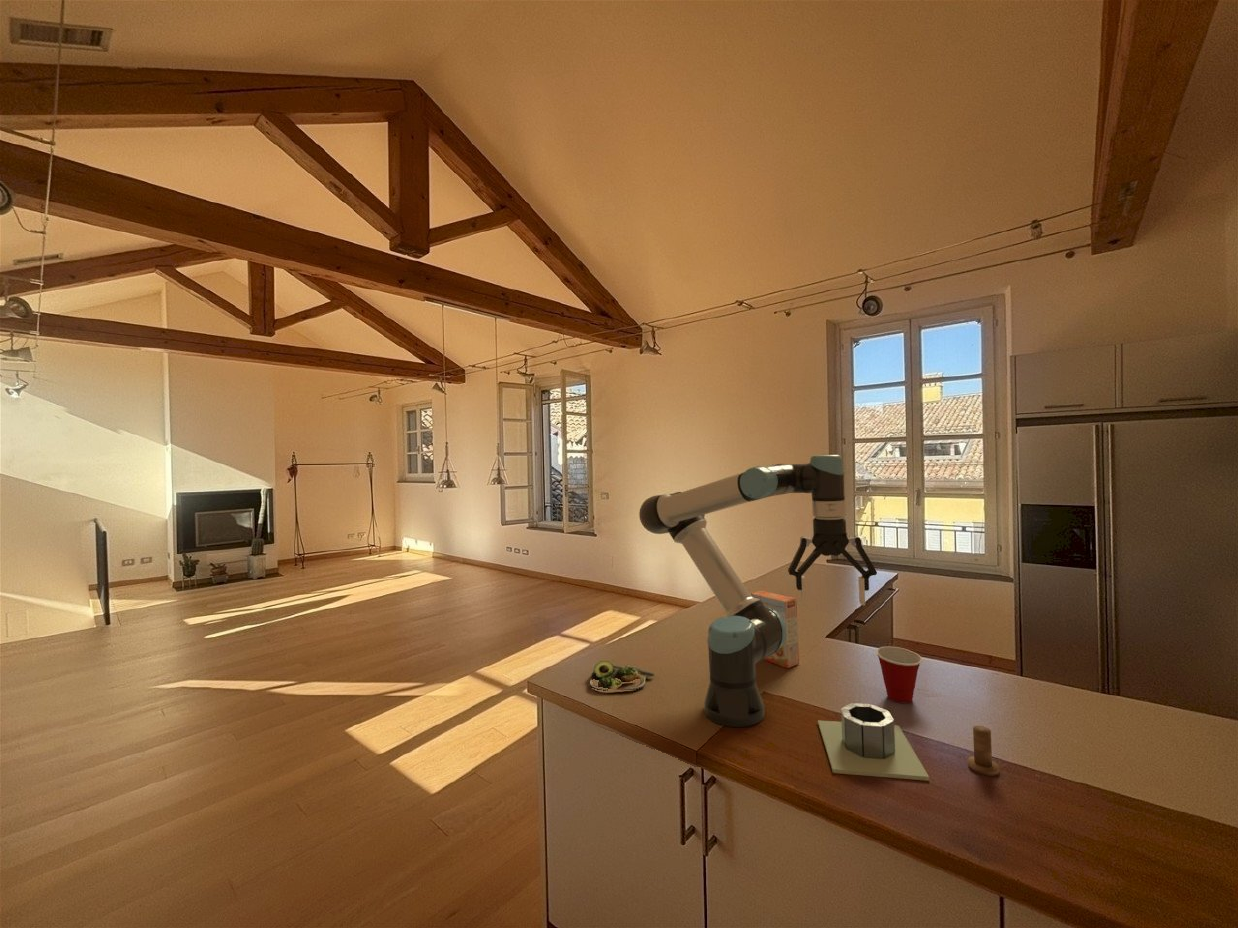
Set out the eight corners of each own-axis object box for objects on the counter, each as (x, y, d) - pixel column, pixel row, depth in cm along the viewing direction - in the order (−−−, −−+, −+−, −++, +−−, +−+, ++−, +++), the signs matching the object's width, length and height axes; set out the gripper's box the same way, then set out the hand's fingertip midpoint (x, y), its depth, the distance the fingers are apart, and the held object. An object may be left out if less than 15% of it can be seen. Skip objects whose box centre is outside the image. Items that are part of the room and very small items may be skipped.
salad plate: (654, 668, 165) (654, 654, 165) (654, 694, 147) (654, 678, 147) (594, 670, 166) (593, 655, 166) (587, 695, 149) (586, 679, 148)
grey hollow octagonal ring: (848, 756, 111) (847, 724, 111) (839, 732, 121) (838, 702, 121) (899, 760, 109) (898, 727, 109) (886, 735, 119) (885, 704, 119)
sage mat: (833, 772, 107) (832, 768, 107) (818, 723, 127) (817, 720, 127) (929, 780, 104) (929, 776, 103) (898, 728, 123) (898, 725, 123)
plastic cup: (911, 712, 130) (909, 665, 130) (869, 697, 139) (867, 652, 139) (932, 699, 136) (930, 654, 136) (890, 685, 145) (889, 643, 145)
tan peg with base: (974, 774, 105) (973, 734, 105) (963, 759, 110) (962, 721, 110) (1004, 776, 104) (1002, 736, 104) (991, 761, 109) (990, 723, 109)
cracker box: (800, 664, 162) (797, 597, 162) (787, 669, 159) (784, 601, 159) (765, 651, 174) (762, 589, 174) (752, 656, 171) (749, 592, 171)
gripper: (777, 520, 127) (781, 606, 128) (888, 518, 122) (892, 608, 122) (775, 516, 135) (778, 598, 135) (879, 514, 129) (883, 599, 129)
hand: (832, 603), depth 128 cm, fingers open, 13 cm apart
